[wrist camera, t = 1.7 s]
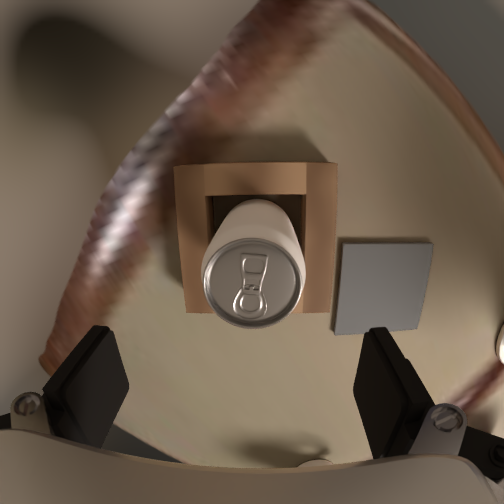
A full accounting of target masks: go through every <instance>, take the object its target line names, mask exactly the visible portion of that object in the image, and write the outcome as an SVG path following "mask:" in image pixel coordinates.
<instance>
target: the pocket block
mask: <svg viewBox="0 0 504 504" xmlns="http://www.w3.org/2000/svg"><path fill="white" fill-rule="evenodd" d="M337 166H338V164H337V163H330V162H286V161H279V162H229V163H206V164H189V165H180V166H174V167H173V169H174V187H175V203H176V216H177V229H178V240H179V251H180V261H181V271H182V280H183V289H184V297H185V305H186V313H215V312H214V311H213V310H212V309H211V307H210V306H209V304H208V302H207V300H206V298H205V295H204V291H203V283H202V278H201V267H202V261H203V258H204V255H205V252H206V250H207V248H208V246H209V244H210V243H211V241H212V239H213V237H214V236H215V234H214V215H213V196H214V195H254V194H301V245H300V248H301V252H302V255H303V258H304V262H305V269H306V278H305V284H304V288H303V290H302V293H301V296H300V299H299V301H298V303H297V305H296V307H295V308H294V310H293V311H292V312H291V313H324V312H330V304H331V293H332V281H333V268H334V253H335V235H336V213H337Z"/></svg>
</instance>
